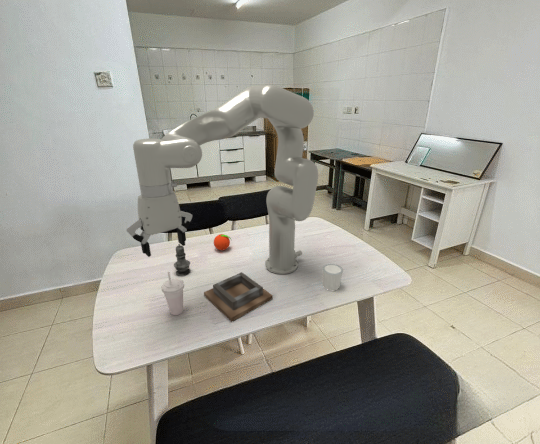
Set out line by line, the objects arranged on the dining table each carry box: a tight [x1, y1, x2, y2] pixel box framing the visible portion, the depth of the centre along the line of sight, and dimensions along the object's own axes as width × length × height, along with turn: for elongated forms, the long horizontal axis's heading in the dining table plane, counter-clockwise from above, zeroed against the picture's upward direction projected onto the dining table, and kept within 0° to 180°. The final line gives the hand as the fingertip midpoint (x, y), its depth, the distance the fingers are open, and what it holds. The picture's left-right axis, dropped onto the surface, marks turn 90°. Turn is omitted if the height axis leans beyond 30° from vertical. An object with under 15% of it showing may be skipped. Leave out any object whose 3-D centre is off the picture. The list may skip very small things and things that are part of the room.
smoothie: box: [160, 271, 185, 316], centre depth 86 cm, size 6×6×14 cm
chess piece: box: [173, 243, 191, 277], centre depth 106 cm, size 6×6×12 cm
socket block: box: [203, 271, 274, 323], centre depth 93 cm, size 16×16×4 cm
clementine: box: [213, 233, 232, 251], centre depth 123 cm, size 8×7×7 cm
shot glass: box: [322, 263, 344, 291], centre depth 99 cm, size 7×7×7 cm
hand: (165, 249), depth 80 cm, fingers open, 9 cm apart
